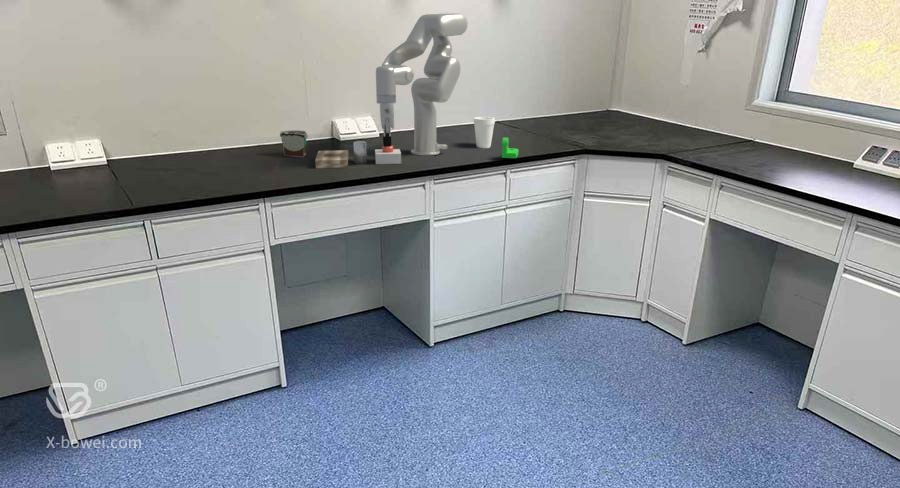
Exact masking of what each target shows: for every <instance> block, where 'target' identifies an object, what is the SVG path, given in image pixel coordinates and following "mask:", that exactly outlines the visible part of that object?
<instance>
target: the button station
mask: <svg viewBox="0 0 900 488" xmlns="http://www.w3.org/2000/svg"><path fill="white" fill-rule="evenodd" d="M374 160H375V165H400V164H402V152H401V148H393V152H383V151H382V148H381V149H374Z"/></svg>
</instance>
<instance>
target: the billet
mask: <svg viewBox="0 0 900 488" xmlns="http://www.w3.org/2000/svg"><path fill="white" fill-rule="evenodd" d="M367 152H368V151H367V142H366V141H363V140H357V141H353V159H354V160H353V162H354V163H355V164H366V163H368V158H367V157H368V156H367V155H368V154H367Z"/></svg>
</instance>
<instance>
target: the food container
mask: <svg viewBox="0 0 900 488" xmlns="http://www.w3.org/2000/svg"><path fill="white" fill-rule="evenodd" d="M279 137H281V144H282V150H283V154H284V156H286V157H295V158H305V157H306V156H307V139H308V133H307V131H304V130H284V131H280V133H279Z"/></svg>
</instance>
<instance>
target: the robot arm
mask: <svg viewBox="0 0 900 488" xmlns="http://www.w3.org/2000/svg"><path fill="white" fill-rule="evenodd" d="M468 23H469V22H468V20H467V17H466V16H465V14H463V13H455V12H454V13H452V12H451V13H436V14H435V13H431V14H430V13H429V14H428V13H426V14H423V15H422V14H421V16H420V17H419V18H418V19H417V21H416V22H415V24H414V26H413V28H412V30H411V31H410V33H409V35H408V36H407V38H406V40H405V41H404V42H402V43H401V44H400V45H398V46H396V47H395V48H394V49H393V50H391V51H390V52H389V53H388V55H387V56H386V58H385V59H384V61H383V62H382V64H381V66H377V67H376V68H375V84H376V85H375V87H376V88H375V92H376V104H379V119H380V126H381V129H382V131H383V135H382V144H383V145H382V146H384V147H390V146H391V145H392V133H391V131H392V130H395V109H394V104H396V103H397V98H396V97H397V96H396V95H397V93H396V89H397V86H407V85H410V84H411V83H412V84H411V88H410V92H411V97H412V103H413V119H414V120H413V124H414V125H413V127H414V128H413V129H414V130H413V132H414V134H413V139H414V141H413V142H414V144H413V145H414V149H410V154H412V155H415V156H424V157H425V156H436V155H439V154H440V153H441V150H447V149H448V144H444V143H442V144H441V143H438V142H437V108H436V105H435V104H434V103H440V104H441V103H445V102H448V100H449V99H450V98H451V96H452V95H453V92H454V89H455V86H456V84H457V82H458V79H459V77H460V74H461V63H460V61H459V59H458V58H457V57H455V56H452V53H453V46H452V43H451V39H449V37H454V36H461V35H463V34H464V33H465V32H466V31H467V29H468ZM431 41H433V44H432V48H431V50H430V52H429V54H428V57H427V59H426V61H425V64H424V68H423V73H424V75H425V76H426V77H418V78H416V79H414V75H415V74H414V70H413V69H412V68H411V67H410V66H407V65H404V63H406V62H408V61H410V60H413V59H416V58H419V57H420V56H422V55H424V53H425V51H426V49H427V48H428V46H429V44H430V43H431ZM402 64H403V65H402ZM413 80H414V81H413ZM391 129H392V130H391Z"/></svg>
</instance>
